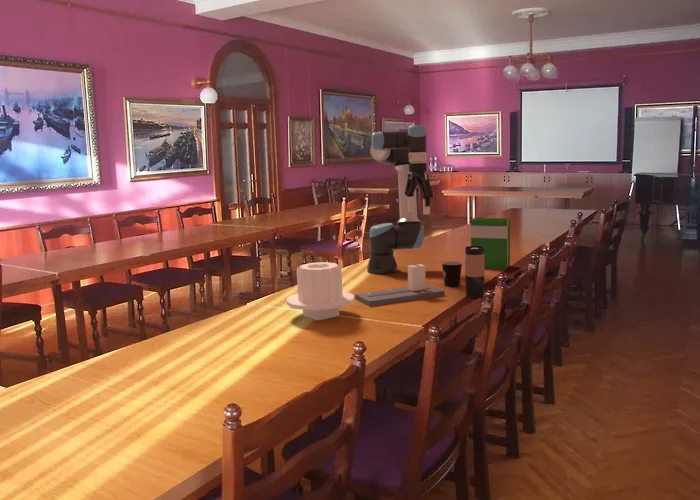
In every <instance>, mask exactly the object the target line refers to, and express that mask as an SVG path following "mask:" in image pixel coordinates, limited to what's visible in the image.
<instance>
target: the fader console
mask: <svg viewBox="0 0 700 500" xmlns="http://www.w3.org/2000/svg"><path fill="white" fill-rule="evenodd" d="M425 285H426V289H425V290H417V291H411V290H409V289H408V286H405V287H397V288H390V289H382V290H376V291H368V292H360V293H355V294H354V300H356V301H358V302H360V303H363V304H364V305H366V306H368V307H374V306H375V307H376V306H379V305H380V306H381V305H386V304H388V305H389V304H395V303H401V302H403V303H404V302H408V301H416V300H421V299H429V298H430V299H431V298H437V297H444V296H445V290H444V289H442V288H439V287H436V286H434V285H431V284H428V283H427V284H426V283H425Z"/></svg>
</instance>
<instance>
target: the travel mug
mask: <svg viewBox="0 0 700 500" xmlns="http://www.w3.org/2000/svg"><path fill="white" fill-rule="evenodd" d="M464 252H465V255H464V259H465V260H464V264H465V265H464V273H465V274H464V280H465V296H466V297H467V298H471V299H479V298H484V296H483V294H484V295H485V268H484V247H482V246H471V245H469V246H466V247H465V249H464Z"/></svg>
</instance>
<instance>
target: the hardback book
mask: <svg viewBox="0 0 700 500" xmlns="http://www.w3.org/2000/svg"><path fill="white" fill-rule="evenodd" d="M470 246H482V247H484V269H498V270H507V269H508V267H511V218H509V217H508V218H507V217H503V218H502V217H499V218H498V217H473V218H471V219H470Z"/></svg>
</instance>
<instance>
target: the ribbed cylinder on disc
mask: <svg viewBox="0 0 700 500" xmlns="http://www.w3.org/2000/svg"><path fill="white" fill-rule="evenodd" d="M342 274H343V273H342V266H341V265H340V264H337V262H328V261H327V262H326V261H324V262H322V261H321V262H318V261H317V262H310V263H306V264H300V265H299V266H298V267H297V268H296V282H297V283H296V285H297V293H294V294H291V295H289V296H288V297H287V298H286V305H287V306H288V307H290V308H293V309H297V310H302V315H303V316H304V317H306V318H309V319H312V320H315V321H317V322H318V321H323V320H327V319H331V318H336V317H338V316H340V308H343V307H346V306H349V305H351V304H353V303H354V302H355V294H353V293H350V292H348V291H344V290H343V275H342Z"/></svg>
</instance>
